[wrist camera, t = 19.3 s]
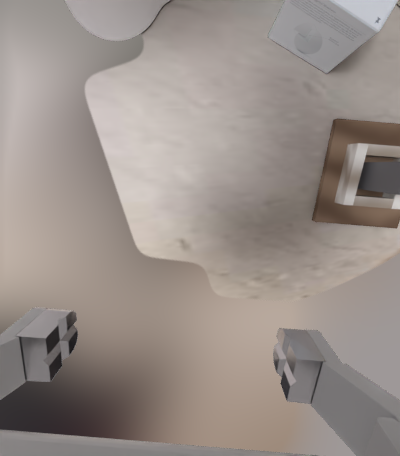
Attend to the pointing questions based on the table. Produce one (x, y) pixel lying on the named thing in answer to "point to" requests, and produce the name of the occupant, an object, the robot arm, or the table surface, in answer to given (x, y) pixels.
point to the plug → (380, 177)
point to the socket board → (357, 175)
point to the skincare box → (328, 28)
